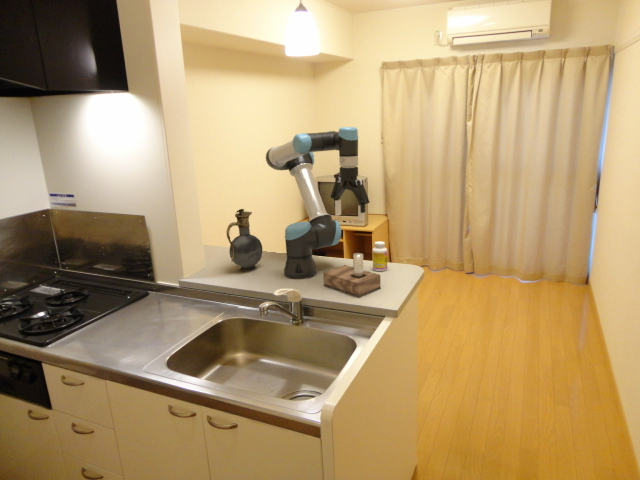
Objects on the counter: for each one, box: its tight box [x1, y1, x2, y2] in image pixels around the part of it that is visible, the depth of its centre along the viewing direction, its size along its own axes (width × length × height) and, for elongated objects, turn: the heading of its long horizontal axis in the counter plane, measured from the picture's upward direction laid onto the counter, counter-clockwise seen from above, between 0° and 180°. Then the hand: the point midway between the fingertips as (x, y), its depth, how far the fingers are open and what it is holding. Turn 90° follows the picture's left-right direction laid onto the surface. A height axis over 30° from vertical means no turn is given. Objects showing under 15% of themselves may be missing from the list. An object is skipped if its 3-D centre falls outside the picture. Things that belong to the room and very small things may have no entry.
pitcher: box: [226, 208, 263, 272], centre depth 214 cm, size 11×19×30 cm, turn 146°
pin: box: [352, 252, 364, 279], centre depth 184 cm, size 4×4×14 cm
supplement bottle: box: [372, 240, 388, 272], centre depth 208 cm, size 7×7×13 cm
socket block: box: [323, 264, 382, 298], centre depth 188 cm, size 20×13×6 cm, turn 42°
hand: (349, 217), depth 189 cm, fingers open, 13 cm apart
